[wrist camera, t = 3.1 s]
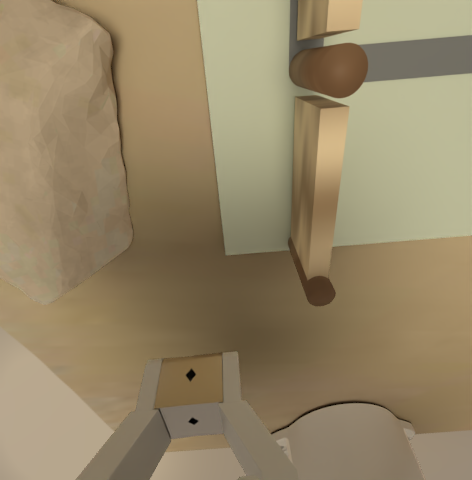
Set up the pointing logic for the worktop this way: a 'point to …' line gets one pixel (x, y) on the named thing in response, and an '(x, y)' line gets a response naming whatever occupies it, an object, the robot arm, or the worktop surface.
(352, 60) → the fence fixed half
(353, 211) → the board
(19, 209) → the stone tool
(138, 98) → the worktop surface
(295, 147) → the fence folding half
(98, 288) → the worktop surface
